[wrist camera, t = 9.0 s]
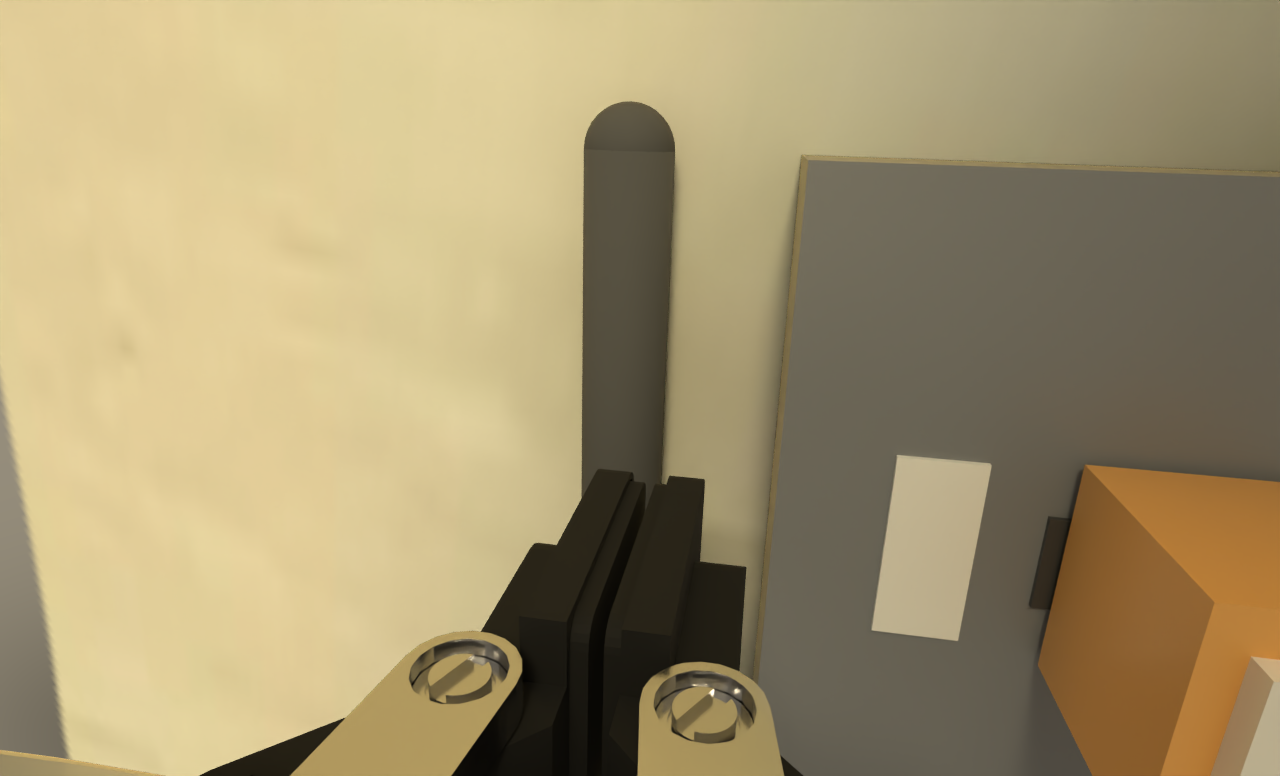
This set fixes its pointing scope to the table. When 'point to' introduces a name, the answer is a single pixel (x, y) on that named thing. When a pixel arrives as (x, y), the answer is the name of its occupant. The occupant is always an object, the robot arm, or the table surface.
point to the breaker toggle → (1169, 625)
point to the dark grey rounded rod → (626, 290)
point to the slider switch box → (988, 431)
